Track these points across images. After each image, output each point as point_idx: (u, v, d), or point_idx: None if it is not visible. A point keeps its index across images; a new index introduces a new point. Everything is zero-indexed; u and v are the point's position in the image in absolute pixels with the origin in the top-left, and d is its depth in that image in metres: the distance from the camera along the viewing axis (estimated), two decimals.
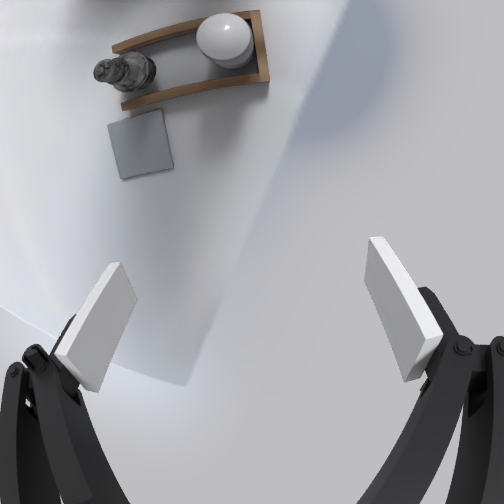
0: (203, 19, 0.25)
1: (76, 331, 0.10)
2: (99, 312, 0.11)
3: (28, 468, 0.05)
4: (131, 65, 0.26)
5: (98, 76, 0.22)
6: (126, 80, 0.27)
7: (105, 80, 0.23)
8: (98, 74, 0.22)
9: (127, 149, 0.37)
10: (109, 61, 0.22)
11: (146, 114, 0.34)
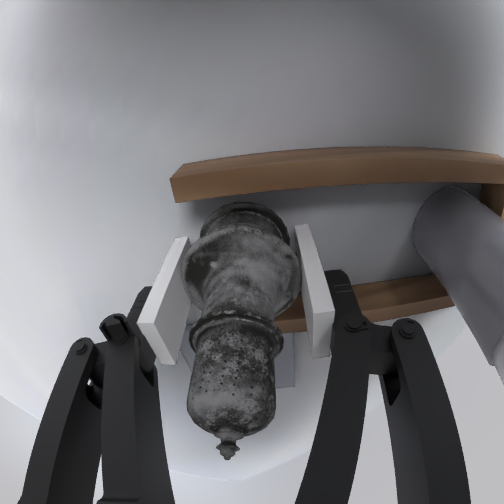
0: (443, 164, 0.11)
1: (159, 299, 0.11)
2: (176, 283, 0.13)
3: (69, 459, 0.05)
4: (272, 305, 0.11)
5: None
6: None
7: None
8: None
9: None
10: (259, 407, 0.07)
11: None
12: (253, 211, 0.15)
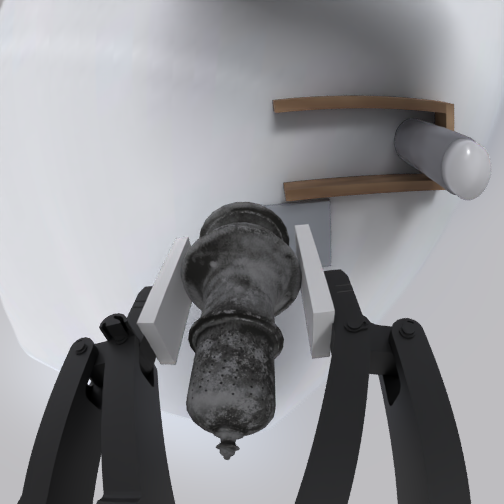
0: (402, 100, 0.22)
1: (159, 299, 0.11)
2: (176, 283, 0.13)
3: (69, 458, 0.05)
4: (272, 305, 0.11)
5: None
6: None
7: None
8: (221, 436, 0.07)
9: None
10: (258, 406, 0.07)
11: (310, 204, 0.31)
12: (253, 211, 0.15)
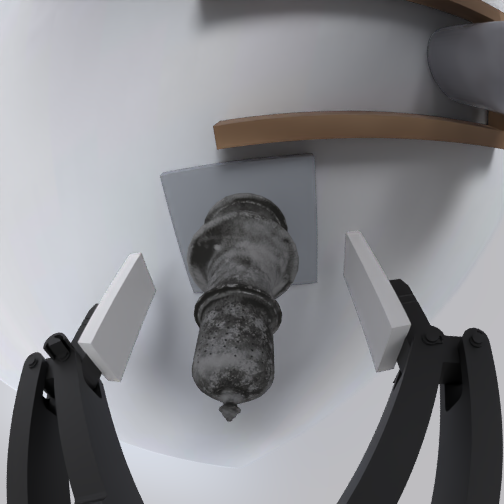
0: None
1: (100, 319, 0.10)
2: (122, 301, 0.12)
3: (39, 463, 0.05)
4: (271, 283, 0.12)
5: None
6: None
7: None
8: None
9: None
10: (258, 369, 0.08)
11: (274, 161, 0.15)
12: (254, 201, 0.16)
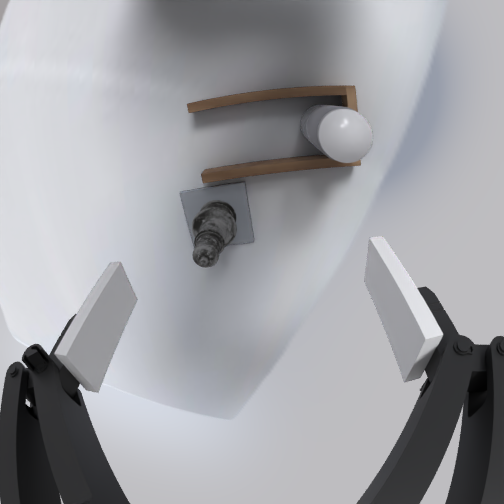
0: (298, 89, 0.28)
1: (76, 331, 0.10)
2: (100, 312, 0.11)
3: (28, 468, 0.05)
4: (222, 232, 0.34)
5: (201, 264, 0.30)
6: None
7: (208, 266, 0.31)
8: None
9: None
10: (212, 250, 0.29)
11: (227, 186, 0.37)
12: (220, 203, 0.37)
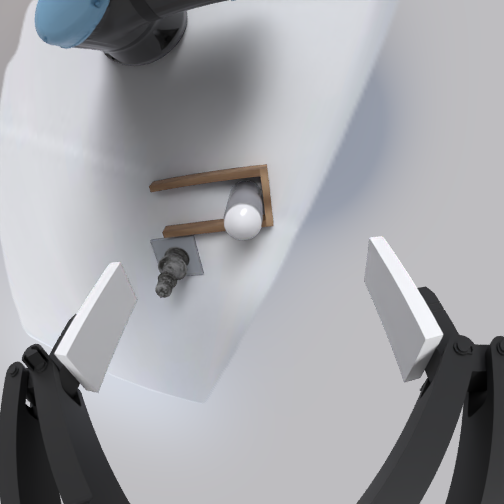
0: (223, 174, 0.44)
1: (76, 331, 0.10)
2: (100, 312, 0.11)
3: (28, 468, 0.05)
4: (176, 273, 0.50)
5: None
6: None
7: (165, 296, 0.47)
8: None
9: None
10: (166, 288, 0.46)
11: (181, 238, 0.53)
12: (177, 249, 0.54)
